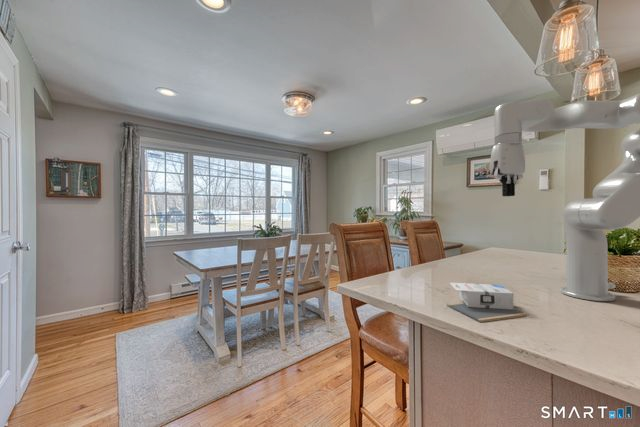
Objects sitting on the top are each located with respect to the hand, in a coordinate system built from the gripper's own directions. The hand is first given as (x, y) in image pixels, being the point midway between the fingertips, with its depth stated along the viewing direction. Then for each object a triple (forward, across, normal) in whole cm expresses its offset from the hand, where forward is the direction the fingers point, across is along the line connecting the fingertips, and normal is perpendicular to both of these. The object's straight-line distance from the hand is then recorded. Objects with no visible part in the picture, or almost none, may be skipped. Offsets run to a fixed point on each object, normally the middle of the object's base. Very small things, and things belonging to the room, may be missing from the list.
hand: (508, 196), depth 90 cm
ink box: (+30, +11, +9) cm, 33 cm away
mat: (+33, +20, +10) cm, 40 cm away
